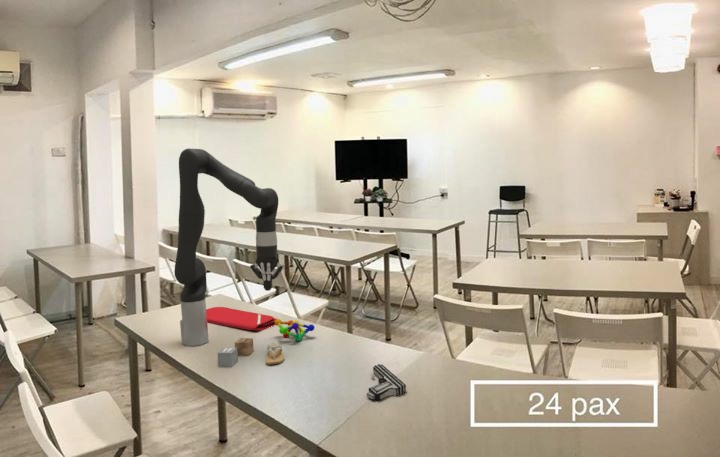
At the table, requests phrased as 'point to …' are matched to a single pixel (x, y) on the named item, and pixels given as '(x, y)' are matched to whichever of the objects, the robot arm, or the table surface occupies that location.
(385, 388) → the handgun
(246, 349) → the walnut block
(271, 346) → the sandal
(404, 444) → the table surface
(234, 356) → the slate block
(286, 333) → the decorative model
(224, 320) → the dish drying mat
